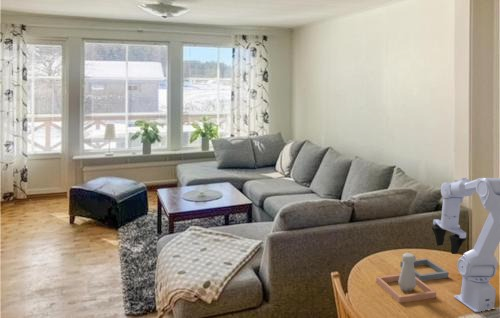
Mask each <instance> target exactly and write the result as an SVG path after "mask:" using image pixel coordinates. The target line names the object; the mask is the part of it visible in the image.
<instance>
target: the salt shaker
mask: <svg viewBox="0 0 500 318" xmlns="http://www.w3.org/2000/svg"><path fill="white" fill-rule="evenodd" d="M401 258H402V259H401V260H402V261H404V262H403V266H402V267H401V270H400V272H399V274H400V277H399V281H397V283H398V286H399V287H400V290H401V291H403V292H405V293H411V292H413V290H414V289H415V288H416V286H417V285H416V278H415V270H416V269H415V266H414V262H415V260H417V257H416V255H415V254H413V253H410V252H405V253H403V254H402V257H401Z"/></svg>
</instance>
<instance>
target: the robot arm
mask: <svg viewBox="0 0 500 318" xmlns="http://www.w3.org/2000/svg"><path fill="white" fill-rule="evenodd" d="M475 193H477V195H478V197H479V199H480V201H481V203H482V207H483V208H484V209H485V210H486V211H488V212H489V213H488V215H487V218H486V220H485V222H484V224H483V226H482V229H481V232H480V233H479V235H478V237H477V240H476V242H475V244H474V246H473V248H472V249H470V250H467V251H466V252H463V254H462V256H460V258H458V260H457V270H458V272H459V274H460V275H461V276H462V278H461V279H462V280H461V288H460V294H455V295H453V296H454V297H453V298H455V299H456V300H458V301H459V302H460V303H461V304H463V305H464V306H466V307H467V308H469V309H470V310H471V311H473V312H474V313H482V312H486V311H485V310H488V309H492V308H496V309H497V307H495V303H496V296H497V291H496V288H495V287H494V286H493V285H492V284H491V283H490V281H491V280H492V278H493V277H495V276H496V274H497V268H498V265H499V261H498V259H497V258H496V256H495V255H494V254H495V253H496V250H497V248H498V246H499V244H500V177H478V178H476V179H474V180H470V179H469V178H467V177H461V178H460V179H459V180H453V181H452V182H445V181H444V182H442V184H441V185H440V195H441V197H442V206H441V207H442V208H441V216H440V217H441V218H440V219H438V218H436V219H433V221H432V225H434V226H431V229H432V231H433V234H434V237H435V243H436V246H443V245H444V241H445V236H446V233H447V231H448V232H450V233H452V234H451V235H449V240H450V244H451V245H450V253H451V254H452V255H457V254H458V253H459V251H460V248H461V246H462V245H463V244H464V242H465V241H466V240H467V232H466V231H464V230H463V229H462V228H461V225H460V224H459V221H460V211H461V204H463V200H464V198H465V197H470V196H473V195H474V194H475ZM453 234H454V235H453ZM481 311H482V312H481ZM488 311H489V310H488Z"/></svg>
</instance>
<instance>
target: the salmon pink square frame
mask: <svg viewBox="0 0 500 318" xmlns="http://www.w3.org/2000/svg"><path fill="white" fill-rule="evenodd" d="M399 277H400V273H398V274H391V275H390V274H389V275H381V276H376V278H375V279H376V280H375V283H376V284H377V285H379V286H380V287H381V288H382V289H383V290H384V291H386V293H387V294H388V295H390V296H391V297H392V298H393V299H394V300H395V301H396V302H397V303H398V304H400V303H401V304H402V303H407V302H415V301H421V300H429V299H436V298H437V292H436V291H435V290H434V289H433V288H431V287H430V286H428V285H427V284H426V283H425V282H423V281H421V280H419V279H418V278H417V277H415V278H416V286H417V287H419V288H420V290H422V291H424V292H416V293H408V294H399V293H398V292H397V291H396V290H395V289H394V288H393V287H391V286H390V285H389V284H388V283H390V282H392V283H393V282H398V281H399Z"/></svg>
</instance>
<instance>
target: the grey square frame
mask: <svg viewBox="0 0 500 318" xmlns="http://www.w3.org/2000/svg"><path fill="white" fill-rule="evenodd" d="M403 262H404V261H403V260H402V261H400V267H401V268H402V266H403ZM425 265H426V266H427V267H429V268H431V269H432V270H434V271H435V272H431V273H423V274H422V273H420V272H418V271H417V270H416V269H414V270H415V277H417V278H418V279H419V280H421V281H422V282H423V281H430V280H439V279H445V278H447V279H448V278H449V271H448V270H446V269H444V268H443V267H441V266H440V265H438V264H437V263H435V262H434V261H432V260H430V259H428V258H420V259H416V260H415V262H414V267H416V266H425Z"/></svg>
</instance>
